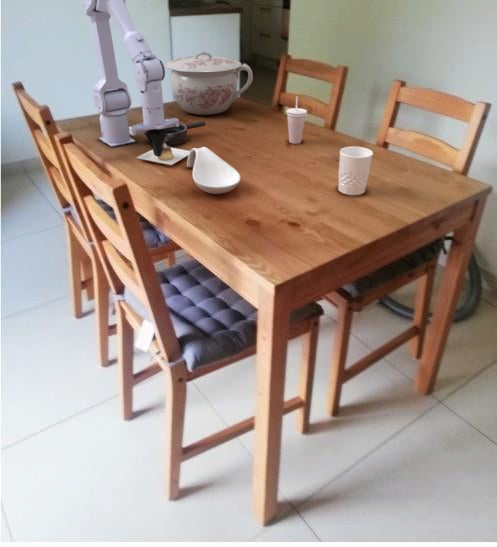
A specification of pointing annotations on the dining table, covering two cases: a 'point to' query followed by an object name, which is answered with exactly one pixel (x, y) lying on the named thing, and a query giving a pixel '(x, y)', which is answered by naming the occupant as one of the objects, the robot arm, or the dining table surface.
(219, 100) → the chamber pot
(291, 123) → the smoothie
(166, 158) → the dessert
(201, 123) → the pan handle
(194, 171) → the spoon rest
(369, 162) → the white cup
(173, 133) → the pan
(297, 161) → the dining table surface
